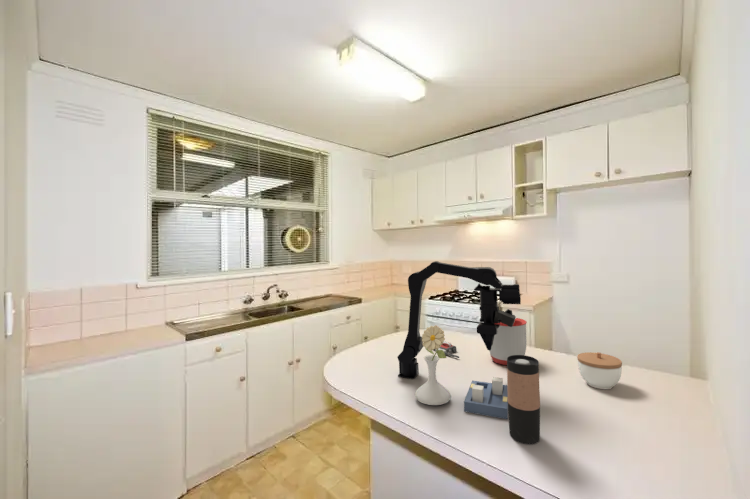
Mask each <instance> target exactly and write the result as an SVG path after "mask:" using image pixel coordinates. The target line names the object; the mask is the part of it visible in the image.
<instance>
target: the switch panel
mask: <svg viewBox="0 0 750 499" xmlns="http://www.w3.org/2000/svg"><path fill="white" fill-rule="evenodd" d="M473 385H480V386H484V401H483V403H479V402H473V401H472V387H473ZM463 400H464V401H463V412H466V413H471V414H476V415H481V416H486V417H487V416H488V417H491V418H492V417H493V418H499V419H505V420H508V419H509V415H508V391H507V384H503V395H496V394H492V382H485V381H480V380H479V381H478V380H472V381H471V383H470V385H469V388H468V390H467V392H466V396H465V398H464V399H463Z"/></svg>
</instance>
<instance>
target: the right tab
mask: <svg viewBox="0 0 750 499" xmlns="http://www.w3.org/2000/svg"><path fill="white" fill-rule="evenodd" d="M503 379H504V378H503V377H497V376H492V379H491V383H492V394H496V395H503V385H504V380H503Z"/></svg>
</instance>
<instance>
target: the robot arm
mask: <svg viewBox="0 0 750 499" xmlns="http://www.w3.org/2000/svg"><path fill="white" fill-rule="evenodd" d="M436 273H438V274H443V275H449V276H454V277H458V278H459V277H460V278H466V279H469V280H472V281H474V282H476V283H478V284H477V286H475V287H474V289H473V290H474V292H479V303H480V305H479V308H478V309H479V311H480V318H479V322H480V323H479V324H478V325H477V326H476V334H479V335H480V337H481V340H482V341H483V343H484V346H485V347H486V349H487V350H488V351H489V350H491V347H492V345H493V340H494V335H496V334H497V332H498V331H497V328H499V326H500V325H499V324H496V323H500V322H501V323H503V324H506V325H508V326H509V327H512V326H513V324H514V321H515V319H516V318H517V316H516V315H515V314H513V311H512V309H509V308H507V309H506V310H501V309H500V306H499V305H498V299H499V302H501V303H502V304H503V305H521V303H522V302H521V300H522V299H521V291H520V284H519V283H515V284H503V283H502V281H500V279H499V278H498V277H497V272H496V270H495V269H494V268H492V267H489V266H485V267H484V266H476V267H471V266H463V265H459V264H452V263H446V262H441V261H438V260H435V261H432V262H431V263H430V264H429V265H427V266H426V267H424V268H423V269H421V270H420V271H415V272H413V273H411V274H409V276H408V278H407V284H408V291H409V292H408V293H409V295H410V300H409V301H410V302H409V313H408V314H409V315H408V317H409V318H408V330H407V335H406V337H405V340H404V344H403V348H402V350H401V352H400V353H399V354H398V356H397V360H398V363H399V364H398V368H399V370H398V371H399V373H398V375H397V377H399V378H406V379H413V380H414V379H415V378H416V377H417V376H418V374H419V373H420V371H419V362H418V359H417V356H418V355H419V353H421V351H422V349H423V347H424V346H423V345H422V343H423V342H422V335H421V334H420V329H421V327H420V326H421V315H422V314H421V313H422V301H423V300H422V299H423V294H424V291H425V288H426V284H427V280H428V279H430V277H431V278H432V276H434V275H435V274H436ZM498 297H499V298H498ZM424 348H425V347H424Z"/></svg>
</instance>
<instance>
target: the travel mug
mask: <svg viewBox="0 0 750 499" xmlns="http://www.w3.org/2000/svg"><path fill="white" fill-rule="evenodd" d="M539 366H540V362H539V360H538V359H537V358H535V357H533V356H529V355H526V354H525V355H512V356H509V357H508V358H507V365H506V373H507V374H506V378H507V379H506V380H507V381H506V382H507V384H506V385H507V391H508V426H509V428H508V429H509V436H510V437H511V439H513V440H515V441H516V442H518V443H520V444H523V445H535V444H537V443H538V442H540V438H541V430H540V429H541V398H540V397H541V396H540V392H541V391H540V371H539V370H540V369H539V368H540V367H539Z"/></svg>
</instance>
